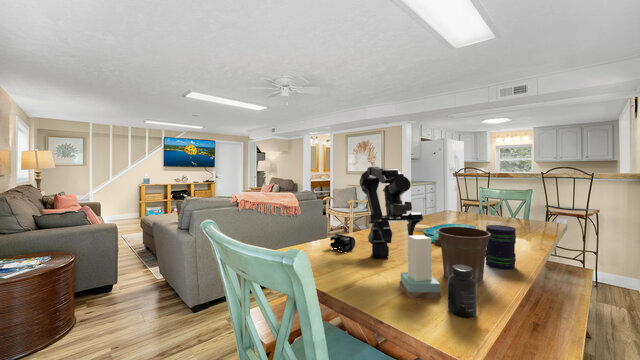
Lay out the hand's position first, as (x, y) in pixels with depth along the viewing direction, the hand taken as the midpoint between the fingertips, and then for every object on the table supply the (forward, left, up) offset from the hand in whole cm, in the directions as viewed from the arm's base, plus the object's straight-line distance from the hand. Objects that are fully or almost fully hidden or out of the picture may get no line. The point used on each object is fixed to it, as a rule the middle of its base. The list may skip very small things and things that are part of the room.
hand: (397, 241), depth 100 cm
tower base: (+4, -14, -12) cm, 19 cm away
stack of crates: (+29, +41, -13) cm, 52 cm away
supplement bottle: (+12, -26, -12) cm, 31 cm away
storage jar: (+41, +12, -12) cm, 44 cm away
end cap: (-20, +30, -12) cm, 38 cm away
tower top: (+4, -14, -10) cm, 17 cm away
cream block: (+4, -14, -7) cm, 16 cm away
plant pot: (+22, -1, -12) cm, 25 cm away
